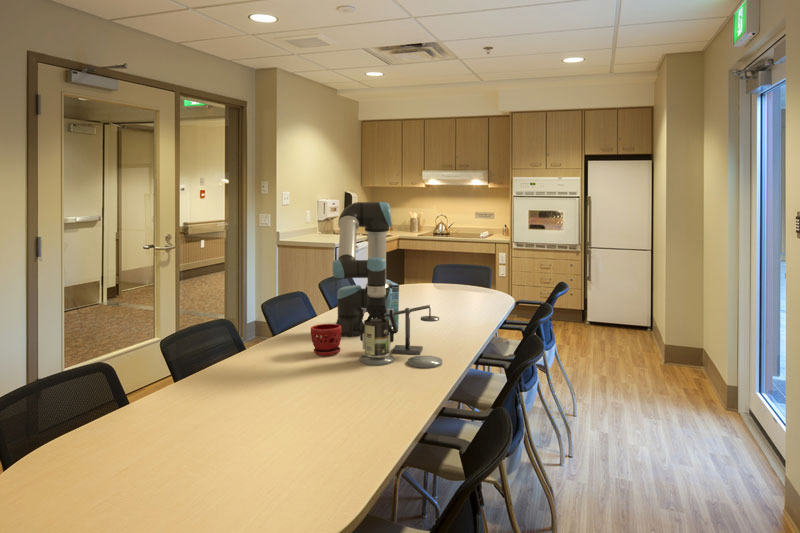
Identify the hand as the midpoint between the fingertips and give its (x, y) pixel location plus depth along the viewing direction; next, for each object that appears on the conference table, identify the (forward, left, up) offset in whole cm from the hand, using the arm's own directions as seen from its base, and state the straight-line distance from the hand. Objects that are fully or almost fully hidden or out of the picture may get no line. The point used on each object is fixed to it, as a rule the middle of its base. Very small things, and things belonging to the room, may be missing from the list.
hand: (376, 349), depth 240 cm
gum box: (-8, +64, -5) cm, 65 cm away
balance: (+10, +16, -5) cm, 19 cm away
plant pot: (-24, +7, -5) cm, 25 cm away
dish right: (+20, 0, -5) cm, 21 cm away
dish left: (0, 0, -5) cm, 5 cm away
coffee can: (0, 0, -2) cm, 2 cm away
